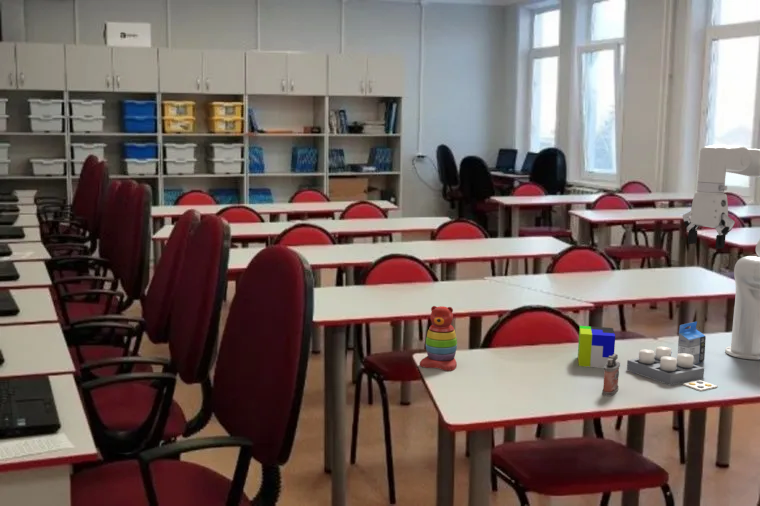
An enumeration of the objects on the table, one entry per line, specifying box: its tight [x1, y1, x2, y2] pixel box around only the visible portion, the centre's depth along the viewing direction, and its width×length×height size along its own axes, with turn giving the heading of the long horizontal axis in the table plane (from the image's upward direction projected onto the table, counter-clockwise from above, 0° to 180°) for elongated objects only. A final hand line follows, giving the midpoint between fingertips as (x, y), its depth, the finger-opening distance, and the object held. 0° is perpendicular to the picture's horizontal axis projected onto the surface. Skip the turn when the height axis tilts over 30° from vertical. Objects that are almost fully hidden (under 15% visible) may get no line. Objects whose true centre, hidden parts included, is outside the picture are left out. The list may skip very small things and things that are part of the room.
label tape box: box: [677, 321, 706, 365], centre depth 252 cm, size 9×4×12 cm, turn 126°
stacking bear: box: [419, 305, 458, 371], centre depth 246 cm, size 11×10×18 cm
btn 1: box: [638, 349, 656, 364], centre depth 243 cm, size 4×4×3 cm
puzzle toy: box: [577, 325, 616, 368], centre depth 252 cm, size 10×10×10 cm
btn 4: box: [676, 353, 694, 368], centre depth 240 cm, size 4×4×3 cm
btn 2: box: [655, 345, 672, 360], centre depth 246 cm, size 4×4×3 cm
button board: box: [626, 357, 705, 386], centre depth 242 cm, size 14×16×3 cm
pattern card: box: [682, 379, 719, 392], centre depth 231 cm, size 7×6×1 cm
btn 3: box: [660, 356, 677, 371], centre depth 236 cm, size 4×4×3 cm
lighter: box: [601, 353, 621, 397], centre depth 225 cm, size 8×3×10 cm, turn 148°
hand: (705, 245), depth 246 cm, fingers open, 9 cm apart
